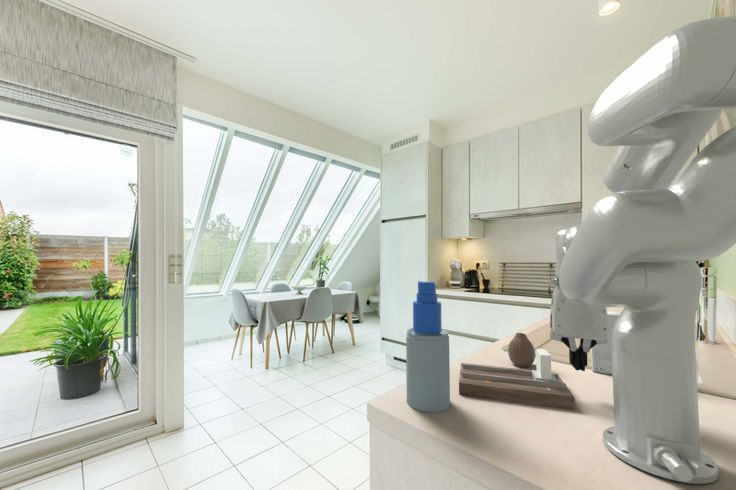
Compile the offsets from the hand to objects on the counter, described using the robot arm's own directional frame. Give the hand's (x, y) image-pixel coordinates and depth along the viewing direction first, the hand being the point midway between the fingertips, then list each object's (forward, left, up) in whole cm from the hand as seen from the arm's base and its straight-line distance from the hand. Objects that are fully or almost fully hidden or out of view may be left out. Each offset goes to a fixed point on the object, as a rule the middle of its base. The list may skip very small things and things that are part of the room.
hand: (578, 368), depth 68 cm
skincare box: (+21, -12, -6) cm, 25 cm away
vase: (+18, +9, -6) cm, 21 cm away
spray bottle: (-14, +31, -6) cm, 34 cm away
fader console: (-1, +14, -6) cm, 15 cm away
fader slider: (-1, +7, -3) cm, 8 cm away
